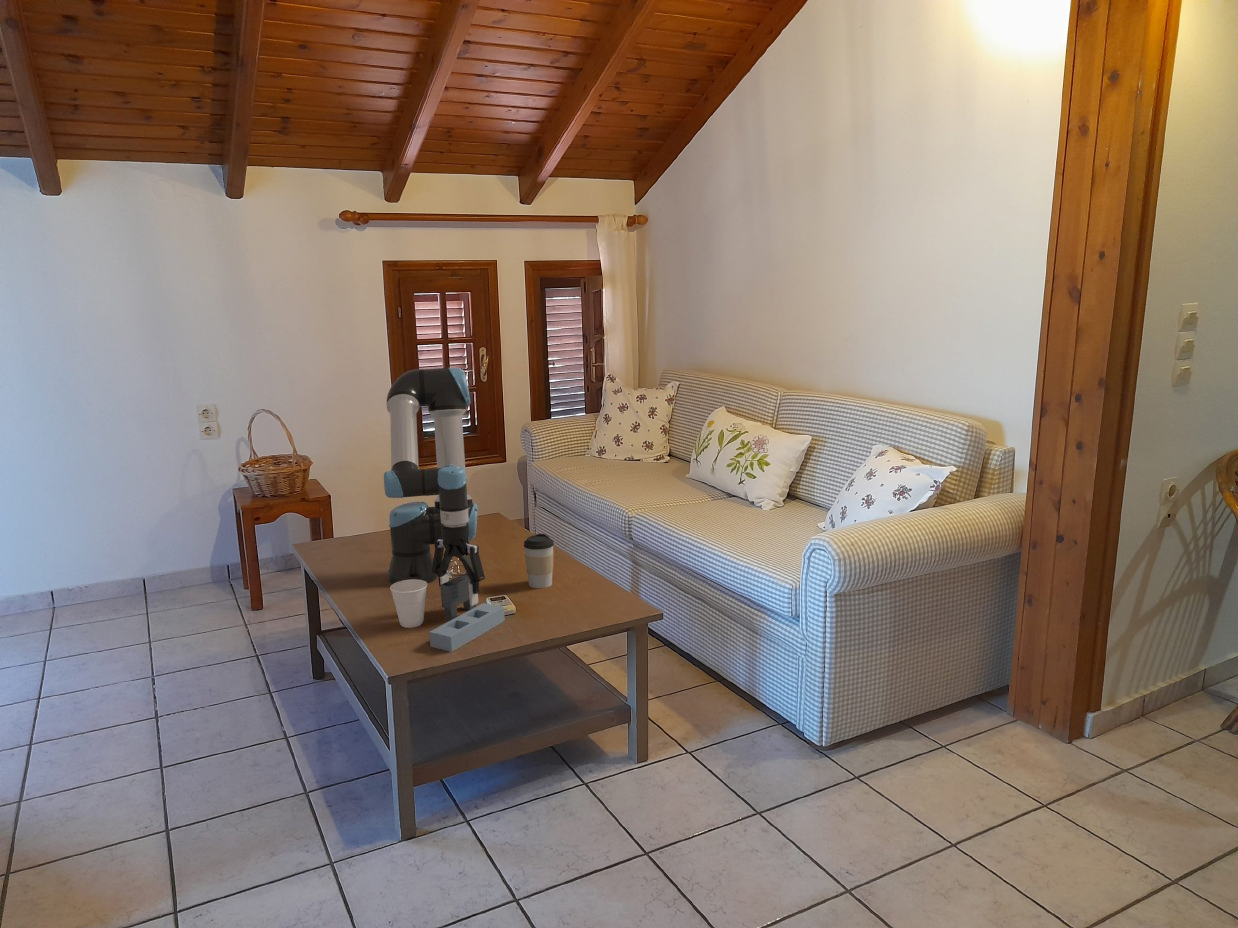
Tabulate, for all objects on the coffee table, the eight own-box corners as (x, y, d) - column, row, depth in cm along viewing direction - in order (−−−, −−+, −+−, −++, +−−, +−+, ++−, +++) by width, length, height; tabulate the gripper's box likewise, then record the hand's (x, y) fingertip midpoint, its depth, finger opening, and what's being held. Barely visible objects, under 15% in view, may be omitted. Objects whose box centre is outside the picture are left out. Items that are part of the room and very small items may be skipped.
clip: (442, 619, 242) (440, 584, 240) (469, 605, 252) (467, 572, 250) (451, 621, 241) (448, 586, 239) (477, 607, 251) (475, 573, 249)
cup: (396, 617, 244) (393, 580, 242) (432, 615, 245) (429, 578, 243) (390, 632, 235) (386, 593, 232) (428, 630, 235) (425, 591, 233)
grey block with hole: (430, 646, 225) (429, 631, 224) (484, 616, 244) (483, 602, 243) (451, 651, 222) (450, 636, 221) (504, 621, 240) (504, 607, 240)
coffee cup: (550, 590, 263) (548, 542, 259) (521, 588, 264) (519, 540, 261) (558, 579, 271) (557, 532, 268) (530, 578, 273) (528, 531, 270)
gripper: (414, 522, 243) (420, 598, 248) (478, 532, 232) (482, 612, 237) (433, 515, 249) (438, 590, 254) (495, 524, 239) (499, 603, 244)
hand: (459, 600), depth 246 cm, fingers open, 9 cm apart
